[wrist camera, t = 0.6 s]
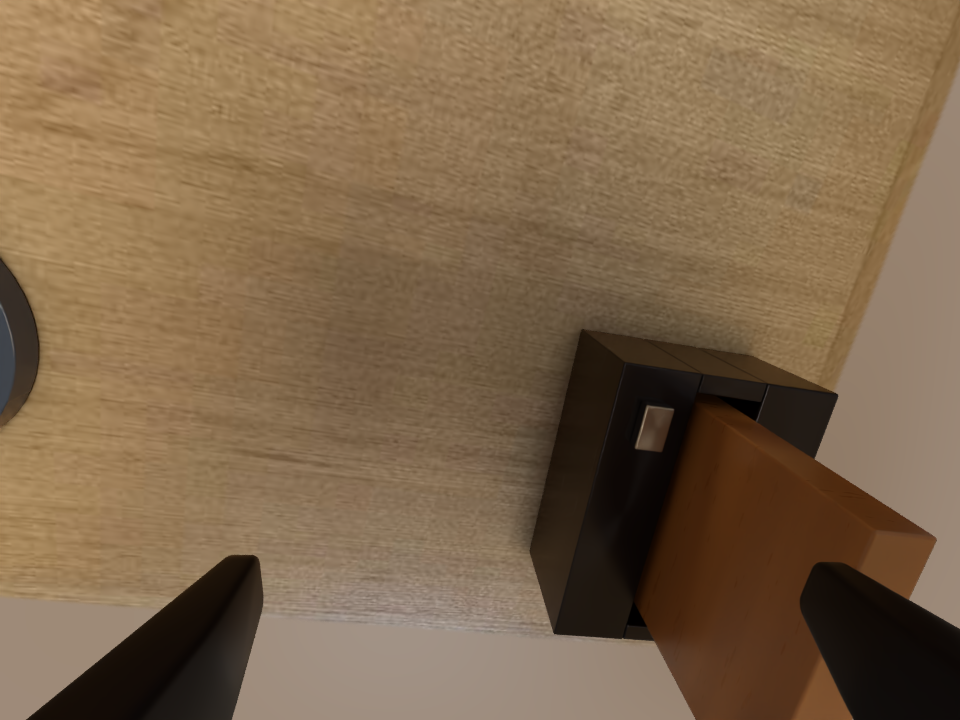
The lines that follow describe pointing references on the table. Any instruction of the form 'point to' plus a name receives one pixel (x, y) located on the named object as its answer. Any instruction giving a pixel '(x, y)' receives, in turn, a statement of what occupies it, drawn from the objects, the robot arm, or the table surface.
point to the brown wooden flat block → (759, 567)
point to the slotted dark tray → (639, 464)
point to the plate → (15, 347)
